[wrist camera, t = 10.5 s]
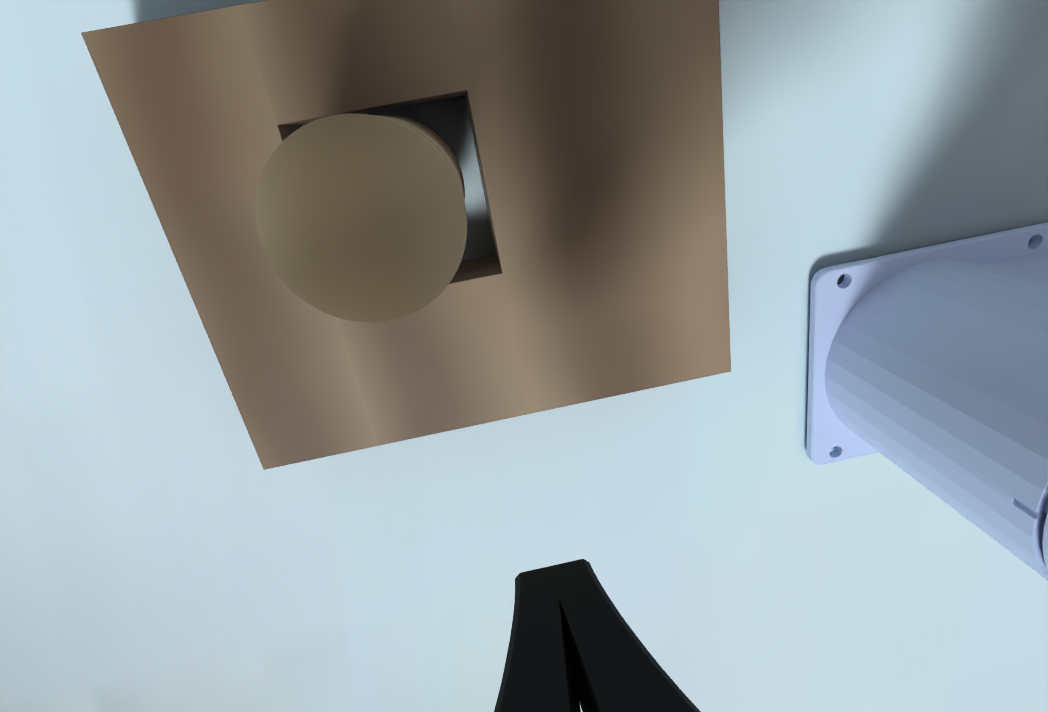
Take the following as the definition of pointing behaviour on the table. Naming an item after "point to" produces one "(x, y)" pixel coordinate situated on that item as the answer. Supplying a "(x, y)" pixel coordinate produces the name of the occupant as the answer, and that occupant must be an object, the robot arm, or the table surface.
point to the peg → (363, 215)
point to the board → (509, 187)
